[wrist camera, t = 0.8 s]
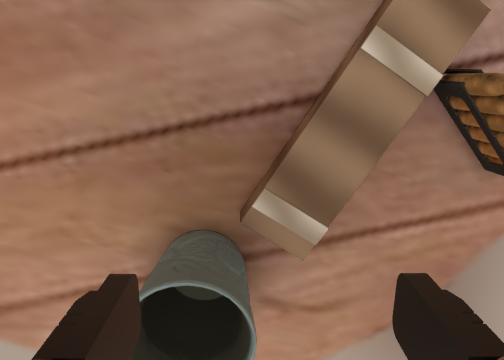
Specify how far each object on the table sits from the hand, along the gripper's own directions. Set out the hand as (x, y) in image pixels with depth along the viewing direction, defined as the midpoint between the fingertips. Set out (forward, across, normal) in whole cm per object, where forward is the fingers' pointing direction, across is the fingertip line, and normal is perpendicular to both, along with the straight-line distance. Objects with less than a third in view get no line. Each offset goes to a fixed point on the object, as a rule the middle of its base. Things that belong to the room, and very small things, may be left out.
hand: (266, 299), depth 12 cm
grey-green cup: (+25, +5, +12) cm, 28 cm away
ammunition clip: (+25, -20, -2) cm, 32 cm away
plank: (+25, -9, -2) cm, 26 cm away
